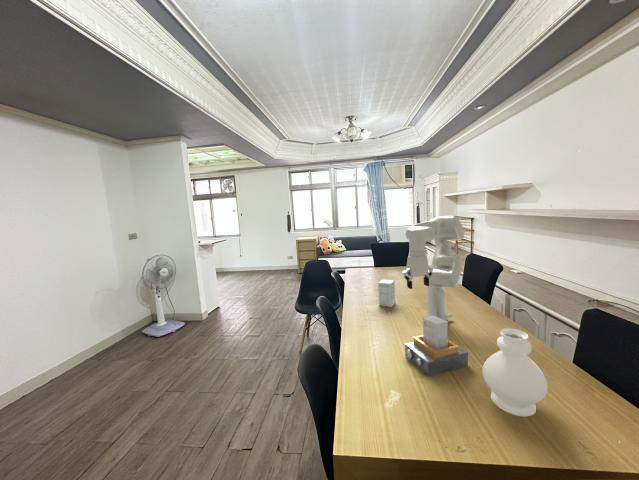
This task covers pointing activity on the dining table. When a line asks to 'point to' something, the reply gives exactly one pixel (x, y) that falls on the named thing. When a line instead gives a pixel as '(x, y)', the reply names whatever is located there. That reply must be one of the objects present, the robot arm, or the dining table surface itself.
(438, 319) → the small box
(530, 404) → the decorative vase
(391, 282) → the supplement box
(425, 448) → the dining table surface
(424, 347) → the frame
